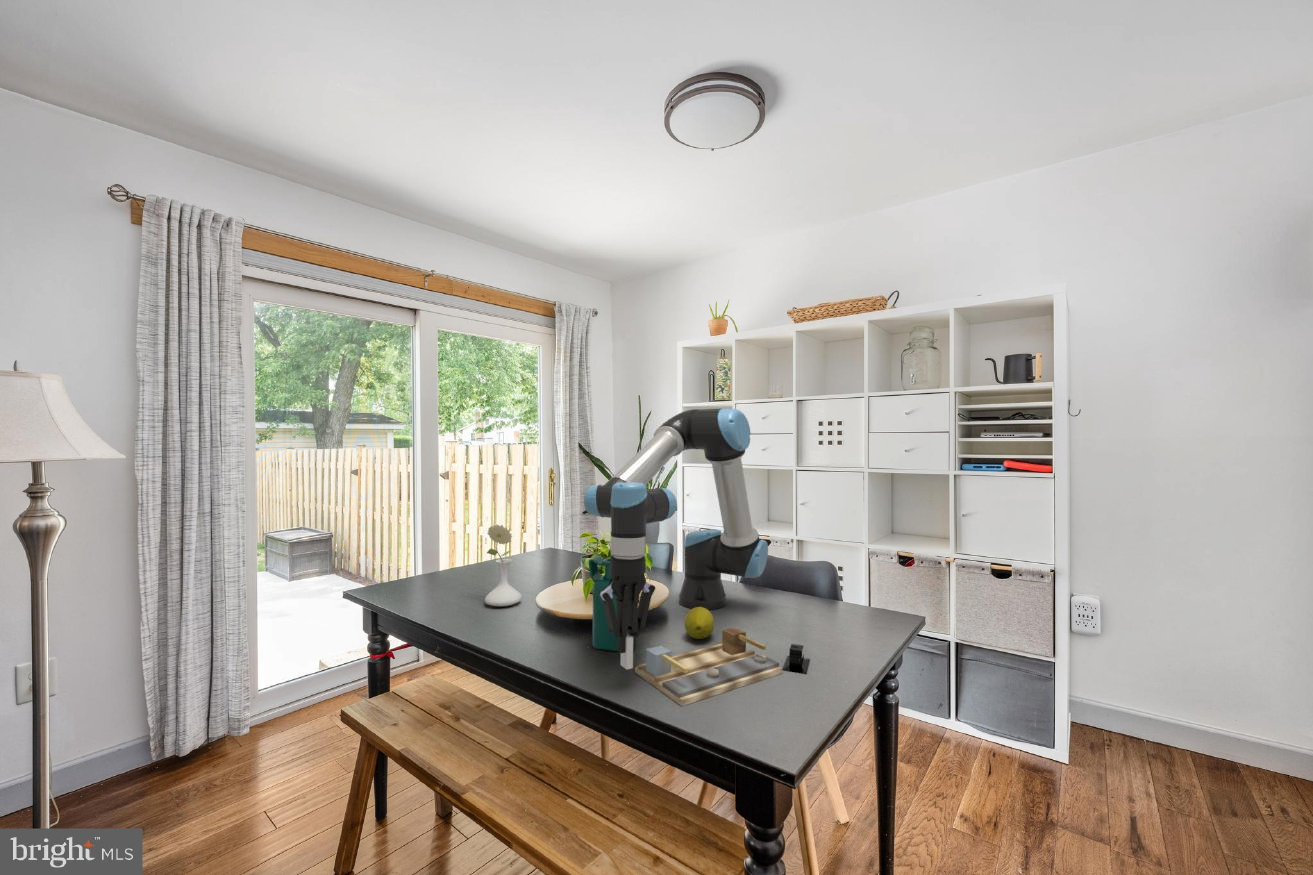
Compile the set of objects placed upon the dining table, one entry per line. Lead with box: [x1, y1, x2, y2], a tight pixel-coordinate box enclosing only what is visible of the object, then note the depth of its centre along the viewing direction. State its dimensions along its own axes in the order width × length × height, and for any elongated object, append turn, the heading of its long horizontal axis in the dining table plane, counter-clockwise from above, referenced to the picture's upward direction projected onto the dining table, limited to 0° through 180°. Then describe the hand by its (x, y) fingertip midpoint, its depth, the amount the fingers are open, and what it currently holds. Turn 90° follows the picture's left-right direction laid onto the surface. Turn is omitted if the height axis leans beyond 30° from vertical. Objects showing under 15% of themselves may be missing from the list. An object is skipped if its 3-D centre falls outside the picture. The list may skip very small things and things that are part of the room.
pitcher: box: [588, 555, 628, 652], centre depth 139 cm, size 10×8×22 cm
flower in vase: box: [484, 524, 523, 607], centre depth 172 cm, size 13×11×25 cm
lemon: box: [683, 607, 715, 640], centre depth 144 cm, size 11×8×8 cm
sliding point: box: [645, 645, 688, 677], centre depth 116 cm, size 4×12×5 cm, turn 33°
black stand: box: [782, 643, 811, 675], centre depth 128 cm, size 12×7×5 cm, turn 159°
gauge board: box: [634, 626, 783, 707], centre depth 122 cm, size 28×18×6 cm, turn 123°
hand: (626, 666), depth 115 cm, fingers closed
